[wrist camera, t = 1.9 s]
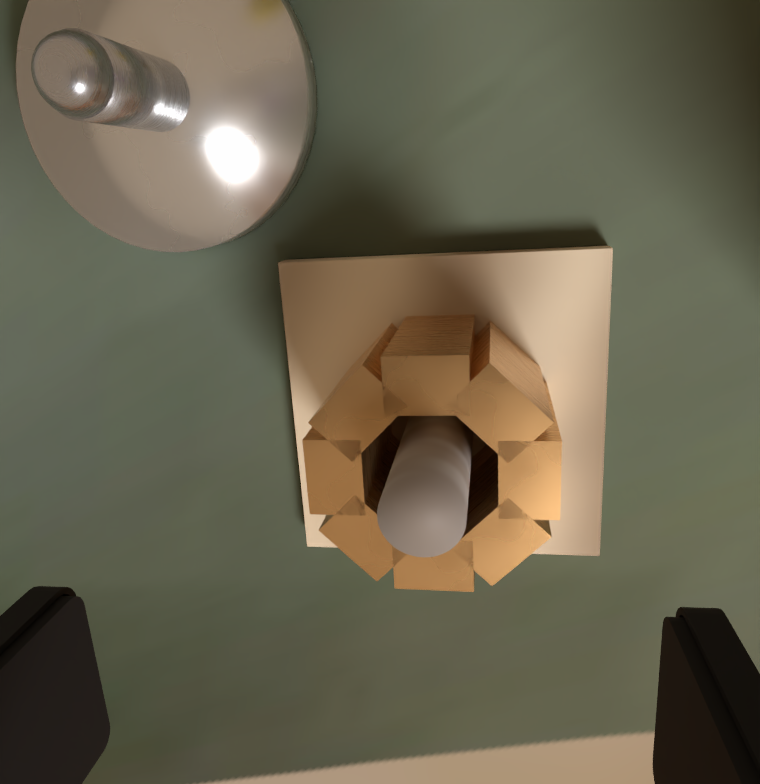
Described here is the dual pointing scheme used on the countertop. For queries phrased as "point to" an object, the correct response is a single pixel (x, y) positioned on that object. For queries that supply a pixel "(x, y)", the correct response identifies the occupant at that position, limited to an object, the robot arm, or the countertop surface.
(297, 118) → the hub
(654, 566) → the countertop surface
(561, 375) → the stand
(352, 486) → the collar
